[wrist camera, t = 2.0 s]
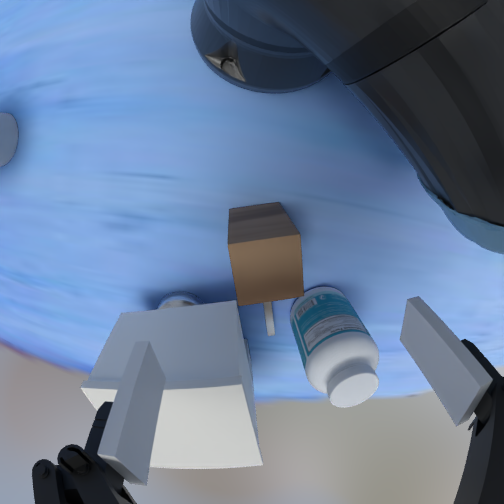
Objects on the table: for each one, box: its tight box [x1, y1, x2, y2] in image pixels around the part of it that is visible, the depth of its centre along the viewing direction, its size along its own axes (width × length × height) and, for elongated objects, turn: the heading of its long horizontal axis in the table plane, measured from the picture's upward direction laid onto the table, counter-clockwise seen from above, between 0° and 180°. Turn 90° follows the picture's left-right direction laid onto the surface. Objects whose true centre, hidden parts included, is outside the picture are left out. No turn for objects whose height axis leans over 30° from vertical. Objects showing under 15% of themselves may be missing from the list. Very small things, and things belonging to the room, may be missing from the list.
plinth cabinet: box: [81, 300, 263, 469], centre depth 27 cm, size 13×12×16 cm
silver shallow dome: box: [158, 291, 204, 309], centre depth 32 cm, size 6×6×2 cm
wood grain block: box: [228, 202, 304, 336], centre depth 27 cm, size 14×5×10 cm, turn 7°
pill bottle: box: [290, 287, 379, 408], centre depth 28 cm, size 8×7×14 cm
